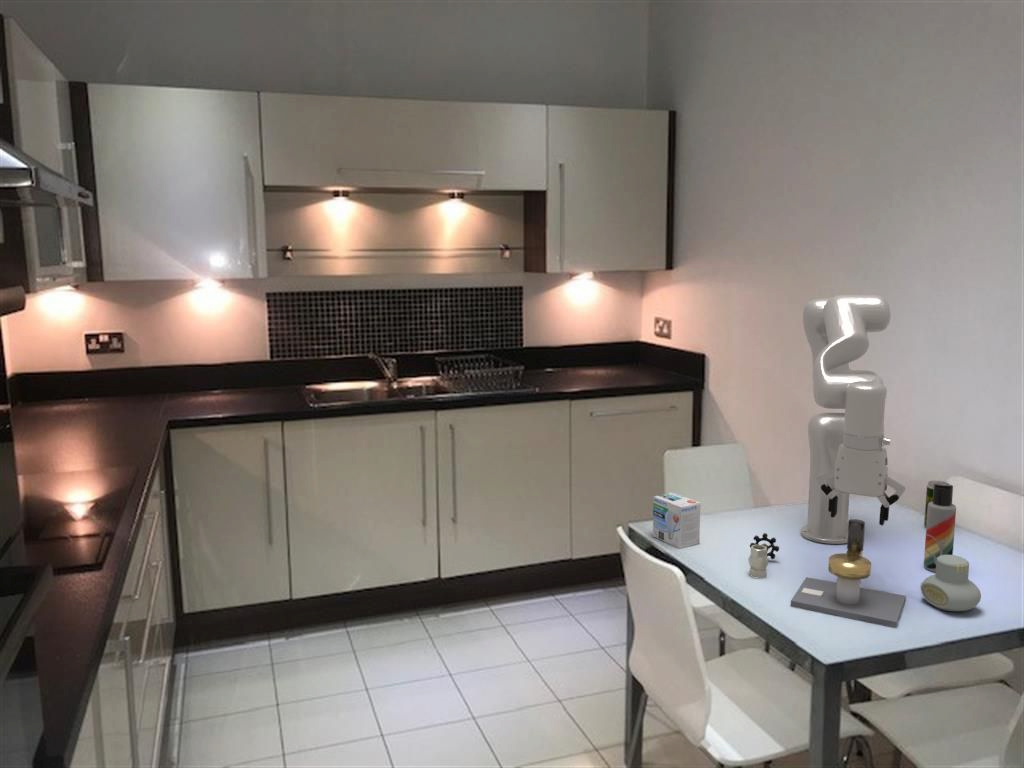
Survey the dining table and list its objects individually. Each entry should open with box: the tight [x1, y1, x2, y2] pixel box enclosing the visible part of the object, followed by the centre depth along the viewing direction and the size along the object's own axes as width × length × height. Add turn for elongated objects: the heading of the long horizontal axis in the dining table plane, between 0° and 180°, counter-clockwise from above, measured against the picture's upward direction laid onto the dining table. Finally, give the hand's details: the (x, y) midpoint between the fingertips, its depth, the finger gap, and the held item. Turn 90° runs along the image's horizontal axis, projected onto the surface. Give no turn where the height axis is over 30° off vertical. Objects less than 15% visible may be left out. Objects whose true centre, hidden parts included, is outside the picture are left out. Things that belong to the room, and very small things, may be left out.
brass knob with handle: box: [828, 518, 872, 581], centre depth 176 cm, size 8×14×8 cm, turn 151°
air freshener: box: [920, 555, 982, 612], centre depth 174 cm, size 11×8×10 cm
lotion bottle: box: [923, 484, 957, 573], centre depth 192 cm, size 6×6×20 cm
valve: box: [748, 532, 780, 578], centre depth 195 cm, size 7×7×12 cm
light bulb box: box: [652, 491, 701, 550], centre depth 213 cm, size 11×7×11 cm, turn 31°
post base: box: [790, 576, 907, 629], centre depth 176 cm, size 14×20×7 cm
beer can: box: [923, 480, 951, 529], centre depth 218 cm, size 5×5×12 cm
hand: (857, 519), depth 180 cm, fingers open, 9 cm apart
